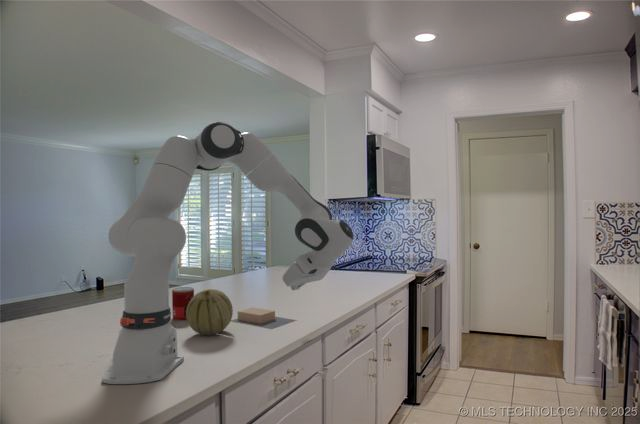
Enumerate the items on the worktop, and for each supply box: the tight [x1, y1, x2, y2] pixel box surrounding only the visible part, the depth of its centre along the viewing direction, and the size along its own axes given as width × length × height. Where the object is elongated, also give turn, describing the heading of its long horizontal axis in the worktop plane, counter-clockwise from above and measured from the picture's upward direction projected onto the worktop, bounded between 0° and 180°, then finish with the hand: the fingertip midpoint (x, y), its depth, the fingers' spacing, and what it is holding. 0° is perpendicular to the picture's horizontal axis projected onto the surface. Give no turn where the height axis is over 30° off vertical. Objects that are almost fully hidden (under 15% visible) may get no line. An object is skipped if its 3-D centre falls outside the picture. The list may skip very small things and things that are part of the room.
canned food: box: [171, 286, 195, 321], centre depth 168 cm, size 8×8×11 cm
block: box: [237, 306, 276, 324], centre depth 162 cm, size 3×8×11 cm
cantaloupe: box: [186, 289, 234, 336], centre depth 145 cm, size 15×15×15 cm
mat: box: [230, 316, 297, 330], centre depth 161 cm, size 20×14×1 cm
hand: (294, 288), depth 152 cm, fingers closed
